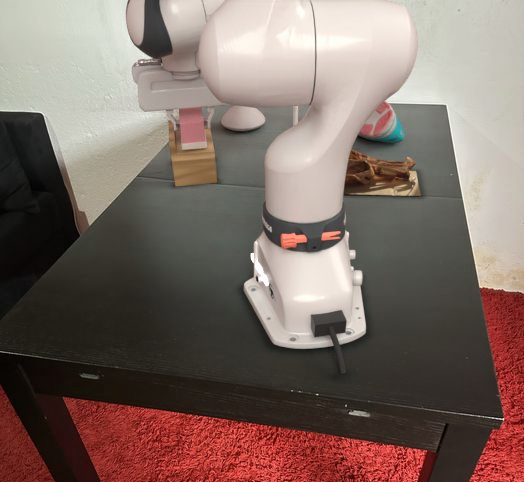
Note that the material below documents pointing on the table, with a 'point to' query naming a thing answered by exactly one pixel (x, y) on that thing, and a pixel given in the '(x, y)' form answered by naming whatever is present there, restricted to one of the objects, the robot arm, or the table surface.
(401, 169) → the driftwood on gold plate
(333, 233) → the robot arm
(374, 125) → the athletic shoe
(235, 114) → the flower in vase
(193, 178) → the brown boxy piece
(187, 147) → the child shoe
